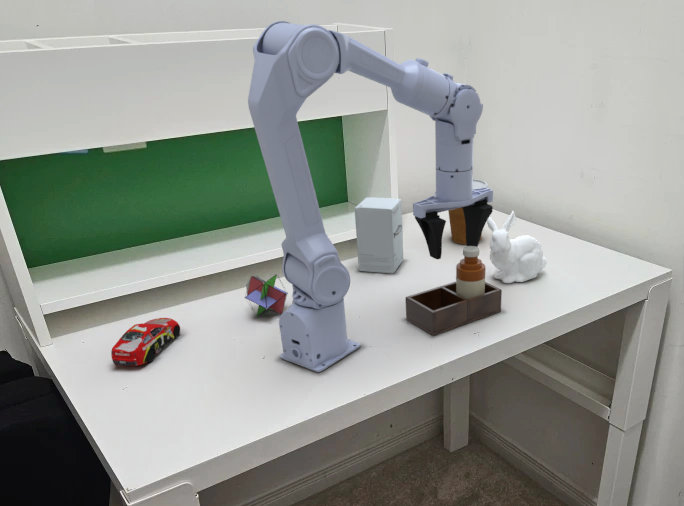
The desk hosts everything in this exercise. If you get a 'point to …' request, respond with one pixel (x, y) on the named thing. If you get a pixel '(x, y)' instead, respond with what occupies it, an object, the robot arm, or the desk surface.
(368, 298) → the desk surface
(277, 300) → the geometric puzzle
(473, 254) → the amber bottle
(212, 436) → the desk surface
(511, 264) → the rabbit
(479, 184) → the disposable coffee cup
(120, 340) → the race car
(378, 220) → the white packaging box
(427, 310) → the wooden compartment tray
